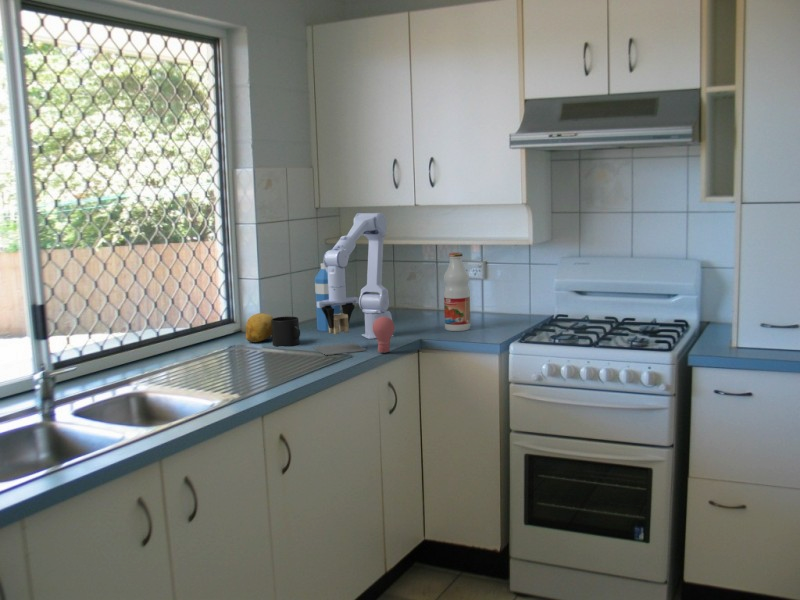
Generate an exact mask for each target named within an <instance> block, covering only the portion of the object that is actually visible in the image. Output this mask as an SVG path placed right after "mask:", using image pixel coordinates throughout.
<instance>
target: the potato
mask: <svg viewBox="0 0 800 600" xmlns="http://www.w3.org/2000/svg"><path fill="white" fill-rule="evenodd" d="M273 318H274V317H273V316H272V315H271V314H267V313H264V312H260V313H259V312H258V313H255V314H252V315H250V317H249V318H248V319H247V321H246V324H245V339H246V340H247V341H248V342H250V343H259V342H263V341H264V340H267V339H269V338H270V337H272V327H271V319H273Z"/></svg>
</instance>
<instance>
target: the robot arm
mask: <svg viewBox="0 0 800 600" xmlns="http://www.w3.org/2000/svg"><path fill="white" fill-rule="evenodd" d="M386 232H387V218H386V217H385V215H384V214H383V212H366V213H365V212H363V213H362V212H358V213H356V214H355V216H354V217H353V225H352V227H350V230H349V231H348V233H347V235H343V236H340V238H339V240H337V242H336V243H335V245H334V246H333V248H331V249H329V250H327V251H326V252H325V253H324V255H323V260H322V263H324V265H325V267H326V272H327V273H328V290H329V299H328V300H324V301H318V302H317V308H321V309H322V311H323V313H324V314H325V316H326V319H327V322H328V325H329V328H334V320H333V317H334V308H332V307H331V306H337V305H340V307H341V310H342V314H348V324H350V321H351V317H352V314H353V311H354V309H355V304H358V306H359V309H360V310H361V311H362V313H364V331H365V332H364V333H362V334H361V337H364V338H365V339H367V340H373V339H377V338H376V336H375V334H374V332H373V323H374V321H375V320H376V319H377V318H379V317H388V318H390V319H391V320H392V321H393V317H392V313H391V311H389V310H388V309H389V307H390V297H389V290H388V288H386V287H385V286H384V285H383V284H382V282H383V259H384V258H383V255H384V238H385V237H386V235H387V233H386ZM361 236H364V237H366V239H367V240H368V248H367V249H368V250H367V251H368V253H367V254H368V255H367V272H366V273H367V275H366V285H365V286H364V287H362V288H361V289H360V294H359V297H357V296H351V297H347V287H346V269H345V268H346V267H347V265H348V264H349V258H350V256H351V254H352V253H353V251H354V250H355V248H356V246H357V244H356V242H357V241H358V239H359V238H360V237H361ZM334 303H339V304H334ZM392 337H394V334H393V335H392Z"/></svg>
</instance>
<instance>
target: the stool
mask: <svg viewBox="0 0 800 600" xmlns="http://www.w3.org/2000/svg"><path fill="white" fill-rule="evenodd" d="M333 320H334V329H333V328H329V331H328V333H329V334H334V335H340V334H339V333H343V332H344V334H345V333H346V334H347V333H350V326H349V324H350V323H349V324H348V314H343V313H340V314H334V317H333ZM338 322H339V330H338ZM328 327H329V325H328Z"/></svg>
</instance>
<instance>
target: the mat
mask: <svg viewBox="0 0 800 600" xmlns="http://www.w3.org/2000/svg"><path fill="white" fill-rule="evenodd" d="M313 349H314V350H316V351H318V352H319V353H320V354H322V353H323V354H322V355H324V354H325V355H330V356H333V355H332V354H338V355H344V354H343V353H347V354H354V353H362V352H363V353H364V352H367V351H368V350H367V349H366V348H364V347H362V346H360V345H359V344H356V343H354V342H349V343H339V344H330V345H319V346H313ZM325 355H324V356H325Z"/></svg>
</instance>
